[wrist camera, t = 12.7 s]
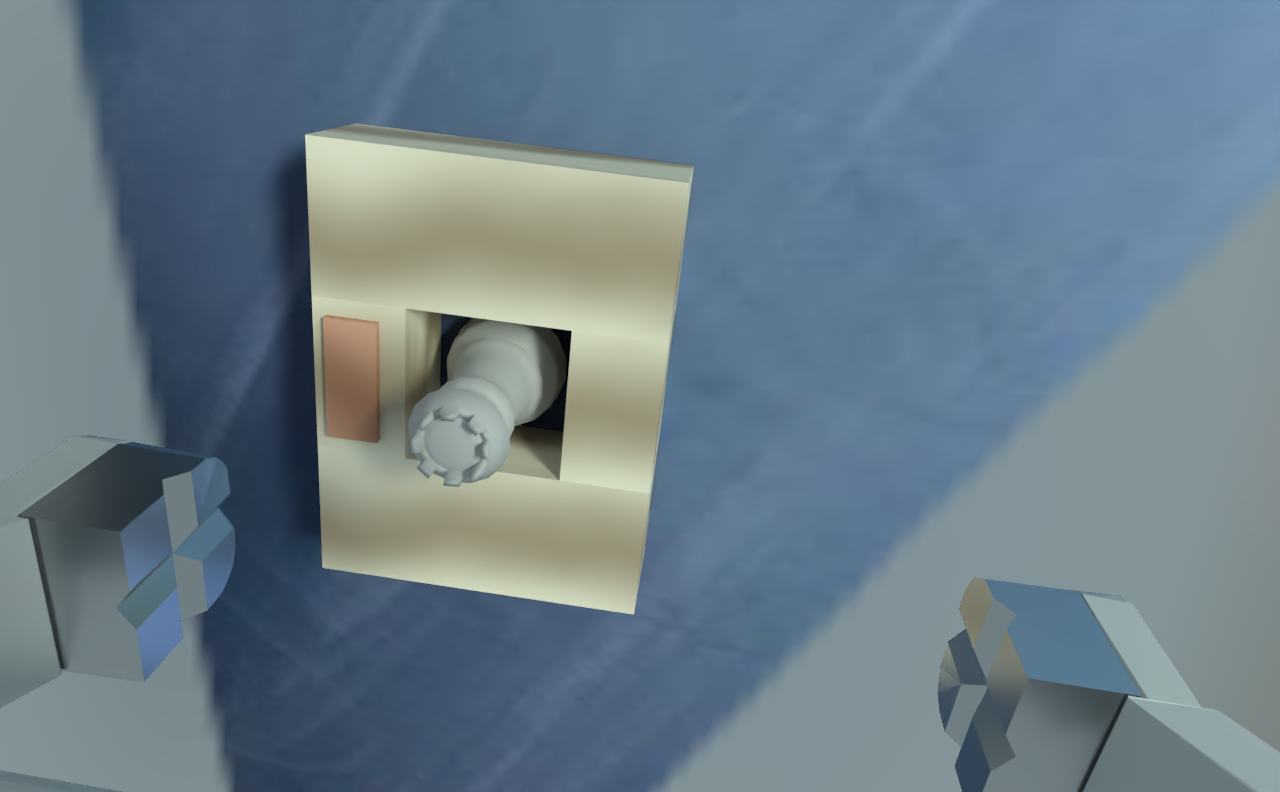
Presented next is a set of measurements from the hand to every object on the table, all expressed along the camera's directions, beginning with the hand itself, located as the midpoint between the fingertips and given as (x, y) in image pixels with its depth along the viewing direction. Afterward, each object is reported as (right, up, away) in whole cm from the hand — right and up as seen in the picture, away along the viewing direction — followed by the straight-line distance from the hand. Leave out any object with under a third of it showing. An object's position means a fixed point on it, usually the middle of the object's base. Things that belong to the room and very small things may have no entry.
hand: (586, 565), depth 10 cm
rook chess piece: (-4, +3, +24) cm, 25 cm away
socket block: (-4, +3, +24) cm, 25 cm away
